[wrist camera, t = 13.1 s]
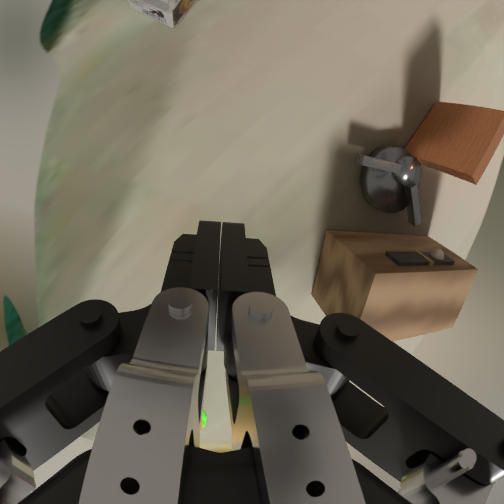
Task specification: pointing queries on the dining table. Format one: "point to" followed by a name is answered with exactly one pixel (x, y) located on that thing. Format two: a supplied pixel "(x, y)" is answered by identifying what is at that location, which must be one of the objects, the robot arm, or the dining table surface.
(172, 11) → the coffee box
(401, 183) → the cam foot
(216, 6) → the dining table surface
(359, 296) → the wooden box
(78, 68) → the dining table surface
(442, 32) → the dining table surface
